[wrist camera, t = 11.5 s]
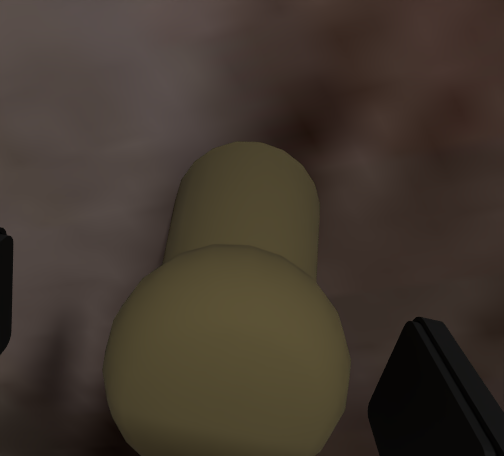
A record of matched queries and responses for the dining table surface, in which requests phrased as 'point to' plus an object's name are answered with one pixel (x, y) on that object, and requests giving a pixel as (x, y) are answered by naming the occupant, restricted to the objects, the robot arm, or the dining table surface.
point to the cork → (232, 320)
